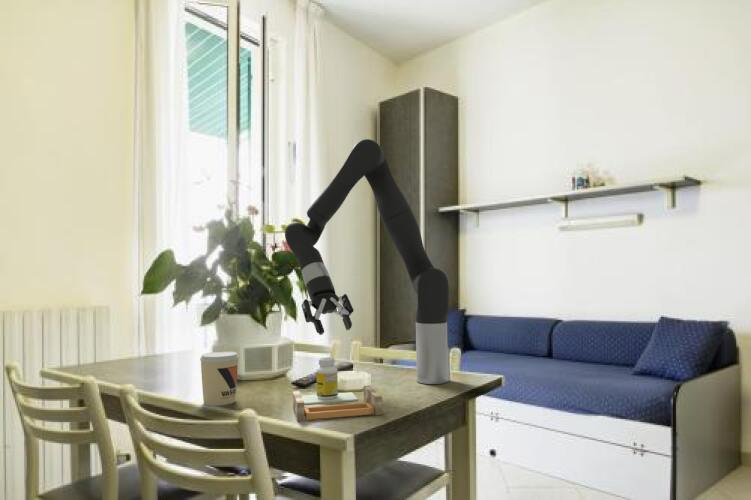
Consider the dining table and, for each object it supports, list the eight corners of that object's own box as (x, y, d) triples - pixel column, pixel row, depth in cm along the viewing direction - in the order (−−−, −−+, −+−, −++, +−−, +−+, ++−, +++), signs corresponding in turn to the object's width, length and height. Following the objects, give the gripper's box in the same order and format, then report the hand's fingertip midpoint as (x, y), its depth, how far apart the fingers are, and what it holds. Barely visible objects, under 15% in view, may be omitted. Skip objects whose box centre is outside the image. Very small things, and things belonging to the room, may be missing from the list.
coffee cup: (224, 407, 125) (224, 357, 126) (192, 405, 128) (192, 356, 129) (245, 398, 134) (245, 352, 135) (215, 396, 137) (215, 350, 138)
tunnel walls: (292, 407, 124) (292, 390, 124) (369, 401, 129) (369, 385, 129) (297, 421, 112) (297, 403, 112) (382, 414, 117) (382, 396, 117)
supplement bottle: (314, 395, 134) (313, 357, 134) (334, 393, 136) (333, 356, 136) (319, 400, 129) (319, 361, 129) (340, 398, 131) (340, 359, 131)
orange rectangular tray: (303, 414, 118) (303, 407, 118) (367, 409, 121) (367, 402, 122) (306, 420, 113) (306, 413, 113) (373, 415, 116) (373, 408, 116)
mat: (299, 397, 134) (299, 395, 134) (351, 393, 138) (351, 392, 138) (302, 404, 127) (302, 403, 127) (358, 400, 130) (358, 399, 130)
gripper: (299, 277, 144) (317, 329, 137) (343, 272, 151) (363, 321, 144) (291, 290, 149) (308, 341, 142) (334, 285, 157) (352, 333, 150)
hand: (335, 331), depth 143 cm, fingers open, 8 cm apart
